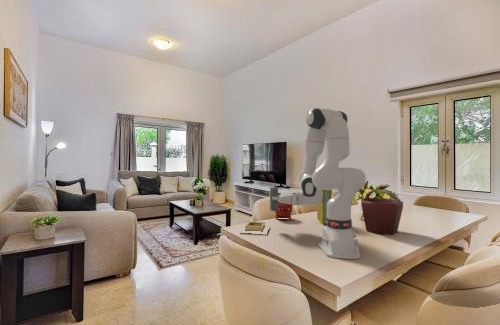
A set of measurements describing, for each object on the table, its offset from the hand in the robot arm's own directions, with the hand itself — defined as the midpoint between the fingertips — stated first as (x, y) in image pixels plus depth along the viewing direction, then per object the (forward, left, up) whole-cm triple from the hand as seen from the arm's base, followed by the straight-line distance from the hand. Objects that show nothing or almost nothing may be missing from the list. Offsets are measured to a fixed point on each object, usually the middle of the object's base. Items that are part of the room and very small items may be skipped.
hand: (272, 197), depth 154 cm
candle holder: (-5, +10, -20) cm, 23 cm away
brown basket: (+8, -64, -20) cm, 68 cm away
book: (+26, -33, -20) cm, 47 cm away
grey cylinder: (0, -1, -8) cm, 8 cm away
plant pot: (+30, -5, -20) cm, 37 cm away
